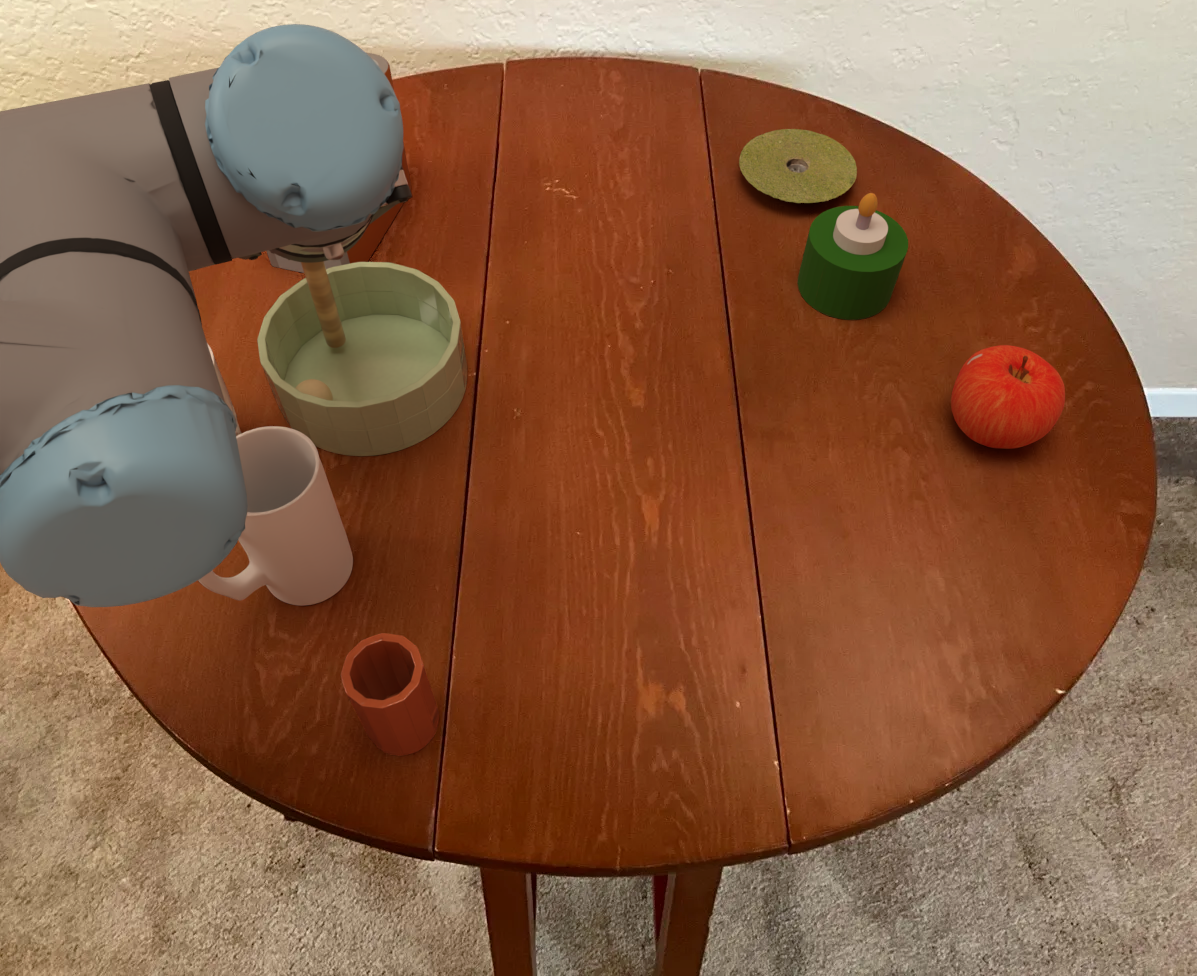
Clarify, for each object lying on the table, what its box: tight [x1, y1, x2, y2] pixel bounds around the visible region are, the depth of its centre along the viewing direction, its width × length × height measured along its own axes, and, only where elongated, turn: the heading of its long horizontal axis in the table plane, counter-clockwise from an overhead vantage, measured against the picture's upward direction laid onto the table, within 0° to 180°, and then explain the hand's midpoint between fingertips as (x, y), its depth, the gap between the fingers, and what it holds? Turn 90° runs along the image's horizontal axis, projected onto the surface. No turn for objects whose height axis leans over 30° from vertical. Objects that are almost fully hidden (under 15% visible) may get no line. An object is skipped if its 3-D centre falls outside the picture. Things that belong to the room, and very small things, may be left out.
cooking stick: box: [301, 261, 346, 348], centre depth 71 cm, size 2×2×18 cm
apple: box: [950, 344, 1066, 450], centre depth 73 cm, size 8×8×8 cm
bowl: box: [256, 261, 468, 457], centre depth 76 cm, size 15×15×6 cm
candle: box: [796, 192, 909, 321], centre depth 82 cm, size 8×8×10 cm
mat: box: [738, 128, 858, 204], centre depth 93 cm, size 11×11×2 cm
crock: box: [340, 632, 440, 757], centre depth 59 cm, size 5×5×8 cm
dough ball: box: [295, 379, 333, 401], centre depth 75 cm, size 3×3×3 cm
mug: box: [197, 425, 354, 607], centre depth 63 cm, size 10×7×12 cm, turn 138°
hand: (301, 237), depth 74 cm, fingers closed on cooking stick, 2 cm apart
